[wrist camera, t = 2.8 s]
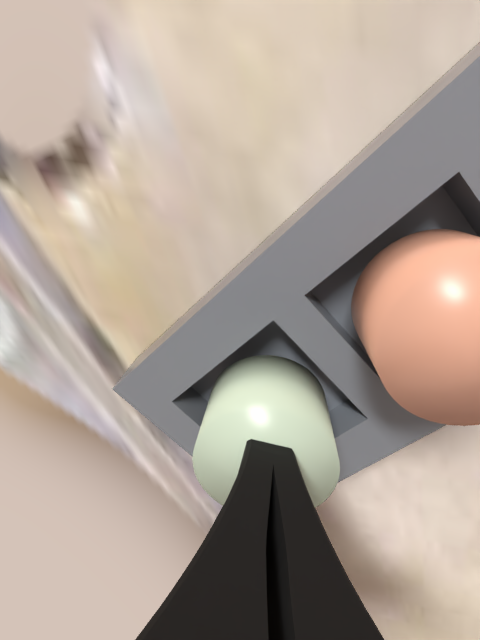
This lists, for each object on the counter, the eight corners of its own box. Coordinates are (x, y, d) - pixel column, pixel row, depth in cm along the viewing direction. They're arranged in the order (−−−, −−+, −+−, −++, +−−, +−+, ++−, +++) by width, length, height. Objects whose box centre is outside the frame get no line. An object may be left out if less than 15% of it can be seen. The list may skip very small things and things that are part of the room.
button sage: (350, 412, 12) (371, 479, 10) (263, 466, 14) (259, 536, 11) (272, 332, 11) (270, 380, 9) (187, 398, 13) (163, 458, 10)
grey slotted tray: (801, 160, 10) (952, 155, 8) (268, 475, 17) (267, 519, 15) (681, -144, 8) (836, -268, 6) (136, 358, 15) (112, 389, 13)
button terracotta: (532, 308, 10) (630, 358, 7) (403, 386, 11) (442, 452, 9) (453, 194, 9) (529, 202, 6) (322, 296, 10) (337, 338, 8)
